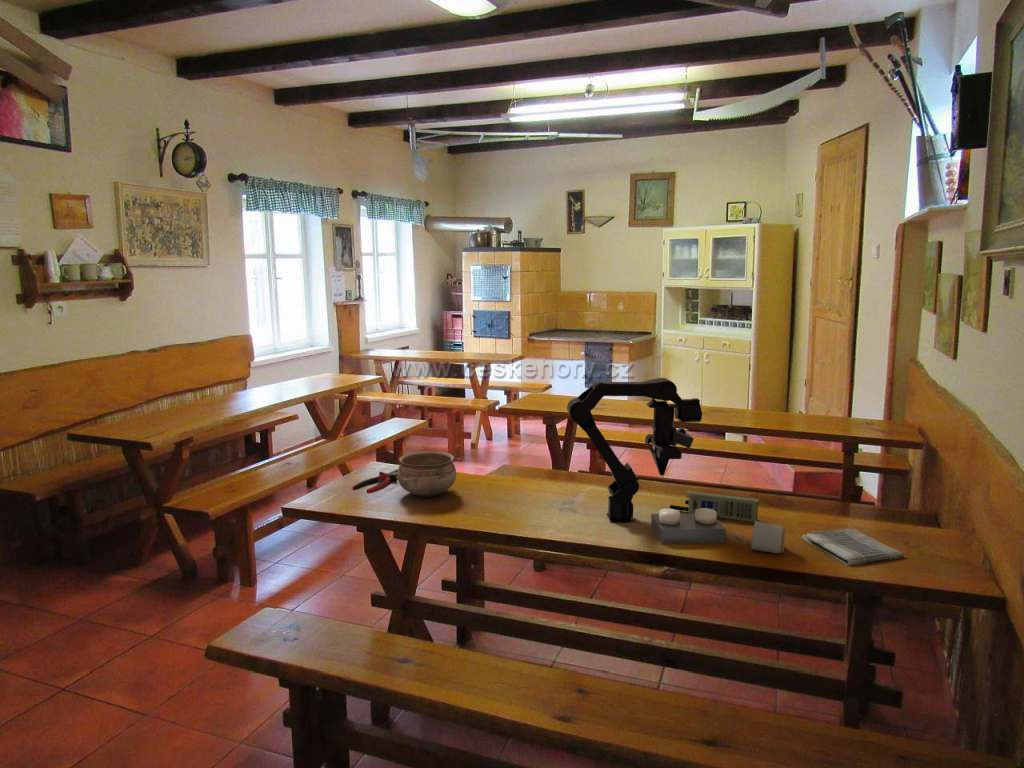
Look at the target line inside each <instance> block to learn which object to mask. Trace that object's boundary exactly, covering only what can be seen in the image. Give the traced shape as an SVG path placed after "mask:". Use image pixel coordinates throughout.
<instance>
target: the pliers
mask: <svg viewBox="0 0 1024 768" xmlns="http://www.w3.org/2000/svg"><path fill="white" fill-rule="evenodd" d="M398 469H399V468H398ZM398 469H395V470H392V471H390V472H384V471H379V472H378V476H375V477H371V478H368V479H365V480H362V481H360V482H358V483H356V484H354V485H353V486H352V490H354V491H355V490H358V489H360V488H363V487H365V486H367V485H370V484H374V483H377V482H379V483H378V484H376V485H374V486H371V487H369V488H367V489H366V493H368V494H370V493H374V492H378V491H379V490H382V488H384V487H386V486H387V485H388V484H389V483H398V479H397V472H398Z"/></svg>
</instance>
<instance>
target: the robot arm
mask: <svg viewBox="0 0 1024 768" xmlns="http://www.w3.org/2000/svg"><path fill="white" fill-rule="evenodd" d="M604 397H644V398H645V397H646V398H650V399H651V400H650V401H649V402H647V403H646V406H647V407H648V408H650V409H653V421H652V422H653V423H651V429H652V433H648V434H647V435H646V436H645V439H644V441H645V442H644V444H646V446H649V445H650V444H651V445H652V448H649V452H650V453H651V455H652V459H653V461H654V464H655V465H656V469H657V471H658V474H659V476H665V473H666V470H667V468H668V467H667V466H668V464H669V462H670V461H669V460H681V459H682V455H683V452H682V450H681V449H680V448H678V447H677V444H678V445H680V446H682V447H685V448H686V449H688V450H689V449H691V448H692V447H691V446H692V444H693V441H694V439H695V437H693V436H691V435H690V434H688V433H687V430H686V429H685V428H683V427H678V429H677V428H676V427H675V426H674V422H675V419H676V420H677V421H678V422H679V423H700V422H701V421H702V419H703V411H702V405H701V404H700V402H701V400H700V398H694V397H693V398H682V397H680V395H679V394H678V388H677V385H676V383H674V382H673V381H672V380H671V379H670V380H669V379H668V378H666V377H659V378H658V377H657V378H653V379H649V380H645V381H644V380H643V381H603V380H597V381H595V382H593V383H592V385H591V386H590V387H588V388H587V389H586V390H584V391H583V392H581V394H580V395H578V396H577V397H574V398H572V399H570V400H569V401H568V403H567V405H566V411H567V414H569V417H570V418H571V419H572V420H573V421H574V422H575V424H576V425H578V427H580V428H581V430H582V431H584V433H586V435H587V437H588V438H589V439H590V441H591V443H592V444H593V445H594V447H595V449H596V450H597V451H598V453H599V455H600V456H601V458H602V459H603V460H604V462H605V464H606V466H608V468H609V471H610V473H611V476H612V477H613V478H612V479H613V482H611V483H610V485H608V487H607V489H608V492H609V495H610V496H608V503H607V505H608V507H607V512H606V515H607V517H608V520H609V522H610V523H616V522H617V523H621V522H622V523H624V522H625V523H627V522H629V523H632V522H633V517H634V503H633V501H632V500H633V498H634V496H635V495H636V494H637V493H638V491H639V488H640V483H639V482H638V481H639V480H640V479H639V477H638V475H637V474H636V473H635V471H634V470H633V468H632V466H631V465H630V463H629V462H626V463H625V464H623V463H622V462H621V461H620V459H619V458H618V456H617V455H616V453H615V452H614V449H612V447H611V445H610V444H609V443H608V441H607V440H606V438H605V436H604V435H603V434H602V432H601V430H600V429H599V428H598V426H597V424H596V421H595V419H594V416H593V414H592V412H591V411H593V410H594V408H596V406H597V405H598V404H599V402H600V401H602V399H603V398H604ZM669 401H670V402H672V403H668V402H669Z"/></svg>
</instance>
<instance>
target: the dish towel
mask: <svg viewBox="0 0 1024 768" xmlns="http://www.w3.org/2000/svg"><path fill="white" fill-rule="evenodd" d="M802 539H803V540H804V542H805V541H806V542H805V543H807V542H808V543H809V545H810V544H812V545H814V546H816V547H817V548H816V547H815V548H816V549H818V548H819V549H821V550H823V551H824V552H823V551H822V552H823V553H825V552H826V553H825V554H827V553H828V554H829V555H828V554H827V555H828V556H830V555H831V556H830V557H832V556H833V557H832V558H834V557H835V558H836V560H837V559H838V560H837V561H839V560H840V561H839V562H841V563H843V564H844V563H845V564H844V565H846V566H847V567H849V566H850V567H851V566H857V565H863V564H865V565H866V564H870V563H877V562H885V561H893V560H899V559H903V558H904V557H905V556H904V552H903V551H901V550H897V549H895V548H893V547H890V546H888V545H886V544H884V543H881V542H880V541H879V540H876V539H874V538H872V537H870V536H867V535H866V534H864V533H862V532H860V531H859V530H858V529H856V528H855V529H853V528H845V529H843V528H841V529H837V530H834V529H830V530H829V529H828V530H821V531H816V530H815V531H809V533H807V534H803V535H801V540H802ZM803 540H802V541H803ZM808 543H807V544H808ZM812 545H811V546H812ZM814 546H813V547H814ZM819 549H818V550H819ZM821 550H820V551H821ZM835 558H834V559H835Z"/></svg>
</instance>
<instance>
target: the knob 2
mask: <svg viewBox="0 0 1024 768" xmlns="http://www.w3.org/2000/svg"><path fill="white" fill-rule="evenodd" d="M716 514H717V512H716V511H715V510H712V509H708V508H699V509H696V510H695V521H697V522H698V523H699V524H715V523H716V519H717V517H716Z"/></svg>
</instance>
